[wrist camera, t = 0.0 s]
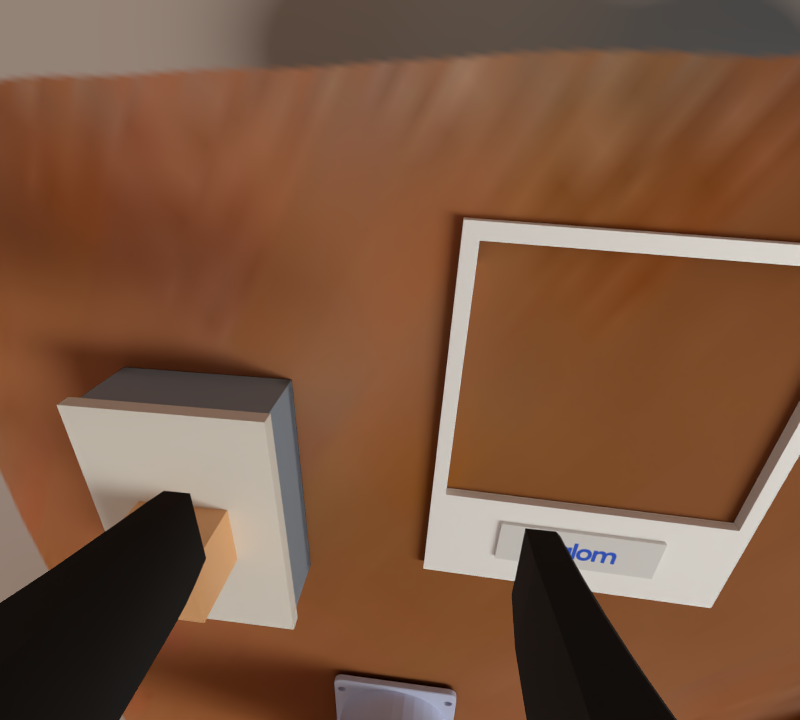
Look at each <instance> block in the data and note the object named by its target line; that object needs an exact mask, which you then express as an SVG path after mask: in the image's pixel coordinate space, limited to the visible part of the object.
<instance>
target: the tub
mask: <svg viewBox="0 0 800 720" xmlns="http://www.w3.org/2000/svg"><path fill="white" fill-rule="evenodd" d="M80 398H88V399H100V400H112V401H125V402H137V403H149V404H161V405H173V406H185V407H197V408H209V409H221V410H233V411H245V412H257V413H269V414H271V421H272V429H273V436H274V444H275V451H276V459H277V466H278V474H279V482H280V489H281V497H282V504H283V512H284V520H285V527H286V535H287V542H288V550H289V557H290V565H291V573H292V580H293V588H294V595H295V603H296V606H297V603H298V600H299V597H300V594H301V591H302V588H303V585H304V582H305V580H306V577H307V574H308V571H309V568H310V565H311V564H310V554H309V544H308V535H307V525H306V515H305V505H304V496H303V486H302V476H301V466H300V457H299V447H298V437H297V428H296V418H295V408H294V398H293V389H292V380H287V379H274V378H260V377H247V376H234V375H221V374H207V373H194V372H181V371H167V370H154V369H141V368H127V367H123V368H122V369H120V370H119V371H118V372H116V373H115V374H113V375H112V376H110V377H109V378H108V379H106V380H105V381H103V382H102V383H100V384H99V385H97V386H96V387H95V388H93V389H92V390H90V391H89V392H87V393H86V394H85V395H83V396H82V397H80Z"/></svg>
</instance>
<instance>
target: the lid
mask: <svg viewBox="0 0 800 720" xmlns="http://www.w3.org/2000/svg"><path fill="white" fill-rule="evenodd" d="M57 407H58V410H59V413H60V415H61V418H62V420H63V423H64V426H65V428H66V431H67V433H68V436H69V439H70V441H71V444H72V446H73V449H74V452H75V454H76V457H77V459H78V462H79V465H80V467H81V470H82V472H83V475H84V478H85V480H86V483H87V485H88V488H89V491H90V493H91V496H92V498H93V501H94V504H95V506H96V509H97V511H98V514H99V517H100V519H101V522H102V524H103V527H104V530H105V531H107V530H108V529H110V528H111V527H112V526H114V525H115V524H117V523H118V522H120V521H121V520H122V519H124V518H125V517H127V516H128V515H129V514H131V513H132V512H134V511H135V510H136V509H138V508H139V507H141V506H142V505H143V504H145V503H146V502H148V501H149V500H151V499H152V498H154V497H155V496H157V495H158V494H160V493H161V492H163V491H172V492H182V493H190V495H191V499H192V503H193V507H194V511H195V515H196V519H197V523H198V527H199V531H200V535H201V539H202V543H203V547H204V552H205V556H206V560H205V563H204V565H203V567H202V570H201V572H200V574H199V577H198V579H197V582H196V584H195V586H194V588H193V590H192V593H191V595H190V597H189V599H188V601H187V604H186V606H185V608H184V609H183V611H182V613H181V615H180V616H179V618H178V620H185V621H193V622H201V623H205V621H206V619H207V618H208V619H215V620H223V621H231V622H239V623H246V624H254V625H262V626H270V627H278V628H285V629H293V630H294V627H295V624H296V621H297V610H296V603H295V595H294V588H293V580H292V573H291V565H290V557H289V550H288V542H287V535H286V527H285V520H284V512H283V504H282V497H281V489H280V482H279V474H278V466H277V459H276V451H275V444H274V436H273V429H272V421H271V414H269V413H257V412H245V411H233V410H221V409H209V408H197V407H185V406H173V405H161V404H149V403H137V402H125V401H112V400H100V399H88V398H76V397H67V398H66V399H64V400H63V401H61V402H60V403H59V404H57Z"/></svg>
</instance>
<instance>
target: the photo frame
mask: <svg viewBox="0 0 800 720" xmlns="http://www.w3.org/2000/svg"><path fill="white" fill-rule="evenodd" d="M479 241H492V242H505V243H518V244H530V245H543V246H555V247H568V248H580V249H593V250H606V251H618V252H631V253H643V254H656V255H668V256H681V257H694V258H706V259H719V260H731V261H744V262H757V263H769V264H782V265H794V266H800V243H797V242H784V241H771V240H758V239H745V238H731V237H718V236H705V235H692V234H678V233H665V232H652V231H639V230H625V229H612V228H599V227H586V226H573V225H559V224H546V223H533V222H520V221H506V220H493V219H480V218H467V217H464V218H463V227H462V236H461V244H460V253H459V262H458V270H457V279H456V288H455V296H454V305H453V314H452V323H451V331H450V340H449V349H448V357H447V366H446V375H445V383H444V392H443V401H442V409H441V418H440V427H439V436H438V444H437V453H436V462H435V470H434V479H433V488H432V496H431V505H430V514H429V522H428V531H427V540H426V549H425V557H424V568H423V569H430V570H438V571H445V572H452V573H459V574H467V575H474V576H481V577H488V578H496V579H503V580H510V581H515V577H516V572H517V567H518V562H519V557H520V552H521V547H522V543H523V538H524V533H525V528H527V529H537V530H546V531H556V532H557V533H558V534H559V535H560V536H561V538H562V540H563V542H564V544H565V546H566V548H567V550H568V551H569V553H570V555H571V557H572V559H573V560H574V562H575V564H576V566H577V568H578V569H579V571H580V573H581V575H582V576H583V578H584V580H585V581H586V583H587V585H588V587H589V588H590V590H591V592H598V593H605V594H612V595H619V596H627V597H634V598H641V599H648V600H656V601H663V602H670V603H678V604H685V605H692V606H699V607H707V608H711V607H712V605H713V603H714V602H715V600H716V598H717V597H718V595H719V593H720V591H721V590H722V588H723V586H724V584H725V583H726V581H727V579H728V578H729V576H730V574H731V572H732V571H733V569H734V567H735V565H736V564H737V562H738V560H739V559H740V557H741V555H742V553H743V552H744V550H745V548H746V546H747V545H748V543H749V541H750V540H751V538H752V536H753V534H754V533H755V531H756V529H757V527H758V526H759V524H760V522H761V521H762V519H763V517H764V515H765V514H766V512H767V510H768V508H769V507H770V505H771V503H772V501H773V500H774V498H775V496H776V495H777V493H778V491H779V489H780V488H781V486H782V484H783V482H784V481H785V479H786V477H787V476H788V474H789V472H790V470H791V469H792V467H793V465H794V463H795V462H796V460H797V458H798V457H799V455H800V401H799V403H798V405H797V406H796V408H795V410H794V412H793V414H792V416H791V417H790V419H789V421H788V423H787V425H786V427H785V429H784V430H783V432H782V434H781V436H780V438H779V440H778V442H777V443H776V445H775V447H774V449H773V451H772V453H771V454H770V456H769V458H768V460H767V462H766V464H765V466H764V467H763V469H762V471H761V473H760V475H759V477H758V479H757V480H756V482H755V484H754V486H753V488H752V490H751V491H750V493H749V495H748V497H747V499H746V501H745V503H744V504H743V506H742V508H741V510H740V512H739V514H738V516H737V517H736V519H735V521H734V523H731V522H722V521H714V520H706V519H698V518H690V517H682V516H674V515H665V514H657V513H649V512H641V511H633V510H625V509H616V508H608V507H600V506H592V505H584V504H576V503H567V502H559V501H551V500H543V499H535V498H527V497H518V496H510V495H502V494H494V493H486V492H478V491H469V490H461V489H453V488H447V481H448V473H449V466H450V458H451V451H452V443H453V436H454V428H455V421H456V413H457V406H458V398H459V391H460V383H461V376H462V368H463V361H464V354H465V346H466V339H467V331H468V324H469V316H470V309H471V301H472V294H473V286H474V279H475V271H476V264H477V256H478V249H479ZM747 516H748V517H747Z"/></svg>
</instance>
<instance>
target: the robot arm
mask: <svg viewBox="0 0 800 720" xmlns="http://www.w3.org/2000/svg"><path fill="white" fill-rule="evenodd" d="M205 560H206V556H205V552H204V547H203V543H202V539H201V535H200V531H199V527H198V523H197V519H196V515H195V511H194V507H193V503H192V499H191V495H190V493H182V492H172V491H163V492H161V493H160V494H158V495H157V496H155V497H154V498H152V499H151V500H149V501H148V502H146V503H145V504H143V505H142V506H141V507H139V508H138V509H136V510H135V511H134V512H132V513H131V514H129V515H128V516H127V517H125V518H124V519H122V520H121V521H120V522H118V523H117V524H115V525H114V526H112V527H111V528H110V529H108V530H107V531H105V532H104V533H103V534H101V535H100V536H98V537H97V538H96V539H94V540H93V541H91V542H90V543H88V544H87V545H86V546H84V547H83V548H81V549H80V550H78V551H77V552H76V553H74V554H73V555H71V556H70V557H68V558H67V559H66V560H64V561H63V562H61V563H60V564H58V565H57V566H56V567H54V568H53V569H51V570H50V571H48V572H47V573H45V574H44V575H42V576H41V577H39V578H37V579H36V580H34V581H33V582H31V583H30V584H29V585H27V586H25V587H24V588H22V589H21V590H19V591H18V592H16V593H15V594H13V595H12V596H10V597H8V598H7V599H6V600H4V601H2V602H1V603H0V720H119V719H120V718H121V716H122V714H123V713H124V711H125V709H126V707H127V706H128V704H129V702H130V701H131V699H132V697H133V695H134V694H135V692H136V690H137V689H138V687H139V685H140V684H141V682H142V680H143V678H144V677H145V675H146V673H147V672H148V670H149V668H150V666H151V665H152V663H153V661H154V660H155V658H156V656H157V655H158V653H159V651H160V649H161V648H162V646H163V644H164V643H165V641H166V639H167V637H168V636H169V634H170V632H171V630H172V629H173V627H174V625H175V623H176V622H177V620H178V618H179V616H180V615H181V613H182V611H183V609H184V608H185V606H186V604H187V601H188V599H189V597H190V595H191V593H192V590H193V588H194V586H195V584H196V582H197V579H198V577H199V574H200V572H201V570H202V567H203V565H204V563H205ZM512 606H513V623H514V637H515V650H516V656H517V663H518V669H519V675H520V681H521V688H522V694H523V700H524V706H525V712H526V718H527V720H676V718H675V717H674V715H673V714H672V713H671V711H670V710H669V709H668V707H667V706H666V704H665V703H664V701H663V700H662V699H661V697H660V696H659V694H658V693H657V692H656V690H655V689H654V687H653V686H652V684H651V683H650V682H649V680H648V679H647V677H646V676H645V674H644V673H643V671H642V670H641V668H640V667H639V666H638V664H637V663H636V661H635V660H634V658H633V657H632V655H631V654H630V652H629V651H628V649H627V647H626V646H625V644H624V643H623V641H622V640H621V638H620V637H619V635H618V633H617V632H616V630H615V629H614V627H613V626H612V624H611V623H610V621H609V619H608V618H607V616H606V615H605V613H604V611H603V610H602V608H601V607H600V605H599V603H598V602H597V600H596V598H595V597H594V595H593V593H592V592H591V590H590V588H589V587H588V585H587V583H586V581H585V580H584V578H583V576H582V575H581V573H580V571H579V569H578V568H577V566H576V564H575V562H574V560H573V559H572V557H571V555H570V553H569V551H568V550H567V548H566V546H565V544H564V542H563V540H562V538H561V536H560V535H559V534H558V533H557V532H556V531H546V530H537V529H527V528H525V533H524V538H523V543H522V547H521V552H520V557H519V562H518V567H517V572H516V577H515V582H514V586H513V591H512ZM334 687H335V699H336V711H337V720H454V712H455V705H456V693H455V692H454V691H453V690H451V689H446V688H438V687H431V686H424V685H417V684H409V683H402V682H395V681H387V680H380V679H373V678H365V677H358V676H351V675H344V674H339V675H337V676H336V677H335V681H334Z"/></svg>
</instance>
